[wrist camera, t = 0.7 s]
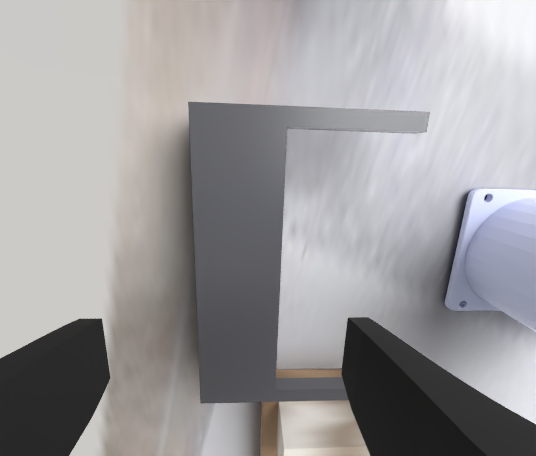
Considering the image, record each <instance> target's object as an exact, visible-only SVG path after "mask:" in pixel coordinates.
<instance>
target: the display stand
mask: <svg viewBox="0 0 536 456" xmlns="http://www.w3.org/2000/svg"><path fill="white" fill-rule="evenodd" d="M341 372H342V369H305V370H276V378H319V377H342V375H341ZM260 456H370V454H369V451H368V449H367V446H366V444H365V442H364V439H363V437H362V434H361V432H360V429H359V427H358V425H357V422H356V420H355V417H354V415H353V412H352V410H351V406H350V403H349V400H333V401H287V402H261V433H260Z"/></svg>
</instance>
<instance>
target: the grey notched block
mask: <svg viewBox="0 0 536 456" xmlns="http://www.w3.org/2000/svg"><path fill="white" fill-rule="evenodd" d="M188 105H189V130H190V154H191V179H192V203H193V228H194V252H195V277H196V301H197V326H198V351H199V375H200V400H201V403H241V402H287V401H333V400H348V396H347V393H346V389H345V386H344V382H343V378H342V377H319V378H276V360H277V338H278V316H279V294H280V272H281V250H282V228H283V206H284V184H285V162H286V140H287V129H309V130H335V131H362V132H389V133H423V132H427V126H428V120H429V114H430V112H418V111H394V110H370V109H346V108H323V107H299V106H275V105H251V104H228V103H204V102H188Z"/></svg>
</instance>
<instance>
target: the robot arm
mask: <svg viewBox="0 0 536 456" xmlns="http://www.w3.org/2000/svg"><path fill="white" fill-rule="evenodd" d="M485 195H487V199H486V200H485V201H484V197H485ZM461 301H462V303H461V304H460V302H461ZM445 305H446V307H448V308H449V309H450V310H453V311H480V310H501V311H502V312H504V313H506V314H507V315H509V316H510V317H512V318H513V319H515V320H517V321H518V322H520V323H521V324H523V325H525V326H526V327H528V328H529V329H531V330H533V331H534V332H536V190H518V189H474V190H472V191H471V192H470V193H469V195H468V198H467V203H466V207H465V212H464V216H463V221H462V226H461V230H460V235H459V239H458V244H457V248H456V253H455V258H454V262H453V267H452V271H451V276H450V280H449V285H448V290H447V294H446V299H445ZM341 375H342V378H343V382H344V386H345V389H346V393H347V396H348V400H349V403H350V406H351V410H352V412H353V415H354V417H355V420H356V422H357V425H358V427H359V429H360V432H361V434H362V437H363V439H364V442H365V444H366V446H367V449H368V451H369V454H370V456H536V424H534V423H532V422H530V421H529V420H527V419H525V418H523V417H521V416H520V415H518V414H516V413H514V412H512V411H511V410H509V409H507V408H505V407H504V406H502V405H500V404H499V403H497V402H495V401H494V400H492V399H490V398H488V397H487V396H485V395H484V394H482V393H480V392H479V391H477V390H476V389H474V388H472V387H471V386H469V385H468V384H466V383H464V382H463V381H461V380H460V379H458V378H456V377H455V376H453V375H452V374H450V373H449V372H447V371H446V370H444V369H443V368H441V367H440V366H438V365H437V364H435V363H434V362H432V361H431V360H429V359H428V358H426V357H425V356H423V355H422V354H421V353H419V352H418V351H416V350H415V349H413V348H412V347H410V346H409V345H408V344H406V343H405V342H403V341H402V340H401V339H399V338H398V337H396V336H395V335H393V334H392V333H391V332H389V331H388V330H386V329H385V328H383V327H382V326H380V325H379V324H377V323H376V322H374V321H373V320H371V319H369V318H348V322H347V330H346V339H345V347H344V356H343V364H342V372H341ZM109 380H110V373H109V366H108V359H107V352H106V345H105V338H104V331H103V324H102V319H78V320H76V321H74V322H71V323H69V324H67V325H65V326H63V327H61V328H59V329H57V330H55V331H53V332H51V333H49V334H47V335H45V336H43V337H41V338H39V339H37V340H35V341H33V342H31V343H29V344H28V345H26V346H24V347H22V348H20V349H18V350H16V351H14V352H12V353H10V354H8V355H6V356H4V357H3V358H1V359H0V456H69V455H70V453H71V451H72V449H73V448H74V446H75V445H76V443H77V441H78V440H79V438H80V436H81V435H82V433H83V431H84V430H85V428H86V426H87V425H88V423H89V421H90V420H91V418H92V416H93V414H94V412H95V410H96V408H97V406H98V404H99V402H100V400H101V398H102V395H103V393H104V391H105V389H106V386H107V384H108V382H109Z"/></svg>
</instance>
